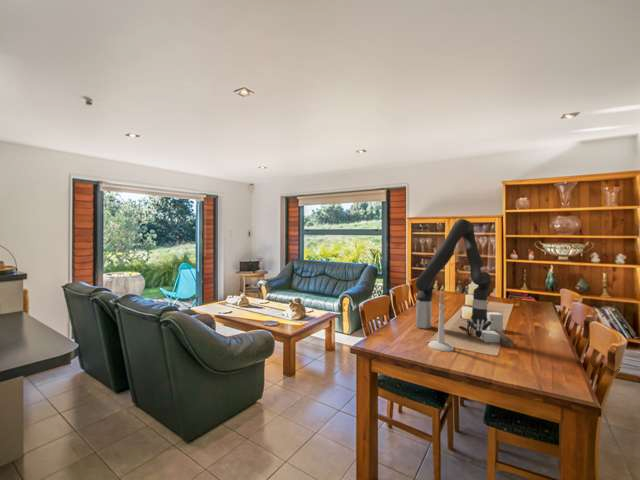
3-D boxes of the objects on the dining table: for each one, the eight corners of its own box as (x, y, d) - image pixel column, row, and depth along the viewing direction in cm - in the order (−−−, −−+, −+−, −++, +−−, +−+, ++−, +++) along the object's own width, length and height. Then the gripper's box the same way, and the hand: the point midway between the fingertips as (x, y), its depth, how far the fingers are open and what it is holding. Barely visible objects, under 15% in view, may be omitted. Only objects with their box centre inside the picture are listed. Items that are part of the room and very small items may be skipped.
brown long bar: (505, 346, 166) (505, 340, 166) (489, 334, 186) (489, 328, 186) (513, 347, 166) (513, 340, 166) (496, 334, 186) (496, 329, 185)
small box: (498, 328, 198) (499, 312, 197) (502, 331, 192) (503, 314, 192) (485, 328, 198) (485, 311, 198) (489, 331, 193) (489, 314, 192)
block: (484, 341, 174) (484, 334, 174) (479, 337, 182) (479, 330, 182) (499, 342, 173) (500, 335, 173) (493, 337, 181) (493, 330, 181)
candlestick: (442, 353, 157) (443, 294, 156) (423, 345, 168) (423, 290, 167) (459, 349, 163) (460, 292, 162) (439, 341, 174) (440, 288, 173)
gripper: (469, 307, 174) (468, 338, 175) (494, 309, 172) (493, 340, 173) (465, 304, 181) (464, 333, 182) (489, 305, 180) (487, 335, 181)
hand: (478, 336), depth 178 cm, fingers closed
